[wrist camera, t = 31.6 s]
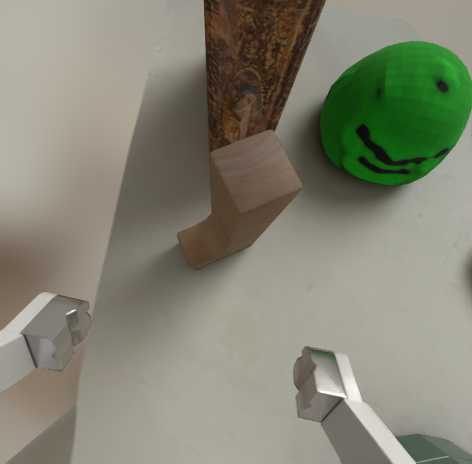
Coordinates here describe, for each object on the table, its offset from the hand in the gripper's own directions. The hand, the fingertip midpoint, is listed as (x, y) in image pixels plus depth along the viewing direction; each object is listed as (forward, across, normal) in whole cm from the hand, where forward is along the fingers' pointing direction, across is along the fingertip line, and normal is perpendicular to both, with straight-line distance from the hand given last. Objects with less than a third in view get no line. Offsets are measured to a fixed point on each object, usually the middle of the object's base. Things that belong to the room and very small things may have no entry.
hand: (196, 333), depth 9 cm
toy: (+26, -14, -5) cm, 30 cm away
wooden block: (+15, 0, +6) cm, 16 cm away
